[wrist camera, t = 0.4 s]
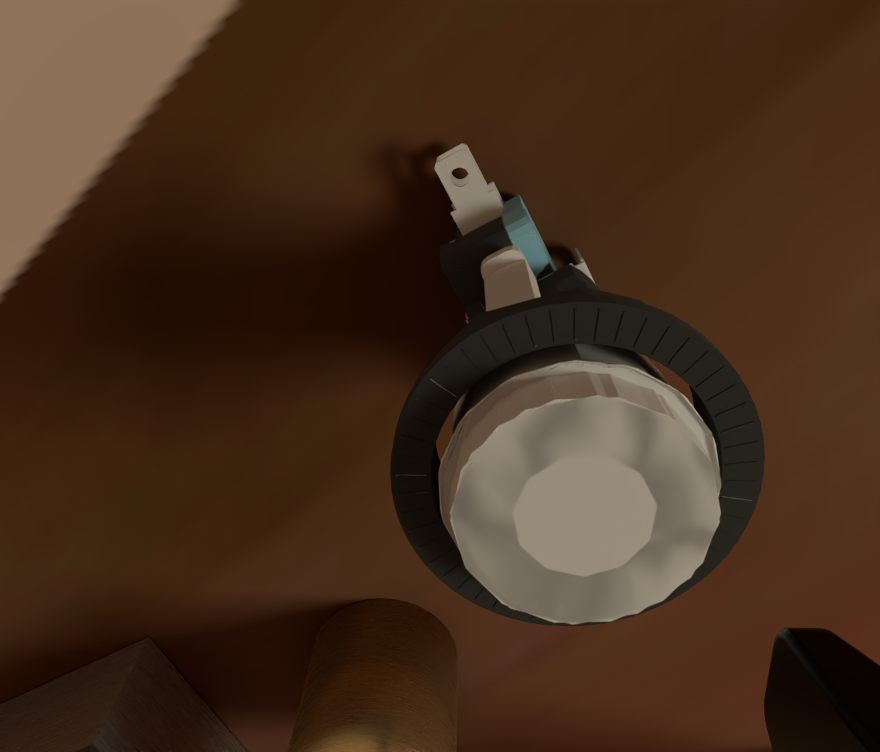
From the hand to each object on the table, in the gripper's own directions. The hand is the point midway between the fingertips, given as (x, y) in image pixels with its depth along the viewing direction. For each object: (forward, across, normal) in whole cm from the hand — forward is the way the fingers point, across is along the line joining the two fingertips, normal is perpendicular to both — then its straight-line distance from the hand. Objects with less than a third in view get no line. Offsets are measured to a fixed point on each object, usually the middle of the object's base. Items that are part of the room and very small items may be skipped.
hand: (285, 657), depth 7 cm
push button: (+14, -3, 0) cm, 14 cm away
